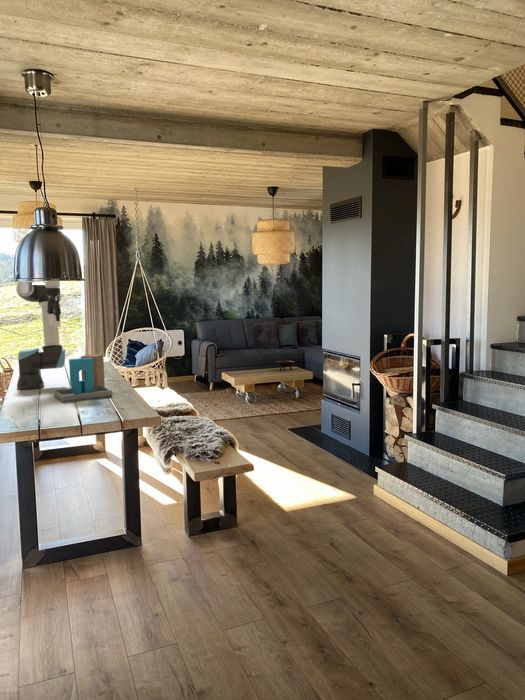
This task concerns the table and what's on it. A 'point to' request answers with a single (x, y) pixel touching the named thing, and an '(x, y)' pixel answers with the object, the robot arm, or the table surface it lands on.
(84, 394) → the tray
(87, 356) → the wooden block
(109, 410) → the table surface
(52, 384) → the table surface
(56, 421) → the table surface
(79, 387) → the block
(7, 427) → the table surface
